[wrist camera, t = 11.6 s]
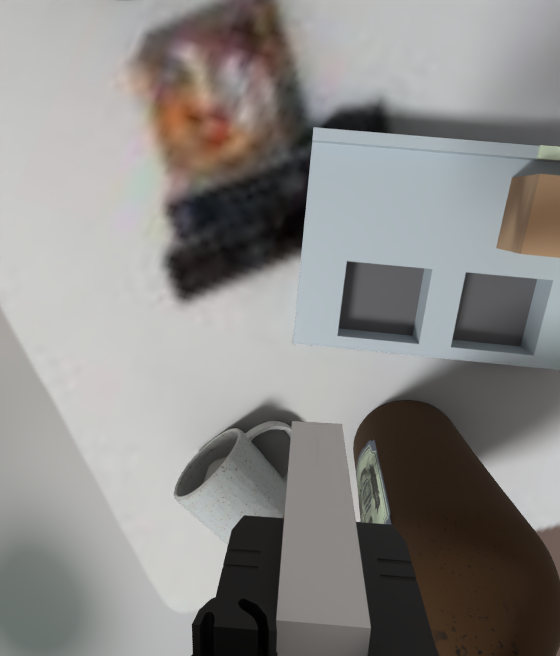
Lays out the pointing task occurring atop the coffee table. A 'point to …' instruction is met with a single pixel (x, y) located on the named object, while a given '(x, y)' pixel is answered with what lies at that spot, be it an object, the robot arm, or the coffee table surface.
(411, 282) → the board
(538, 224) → the brown block
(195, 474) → the ceramic mug
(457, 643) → the olive oil
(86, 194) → the coffee table surface
